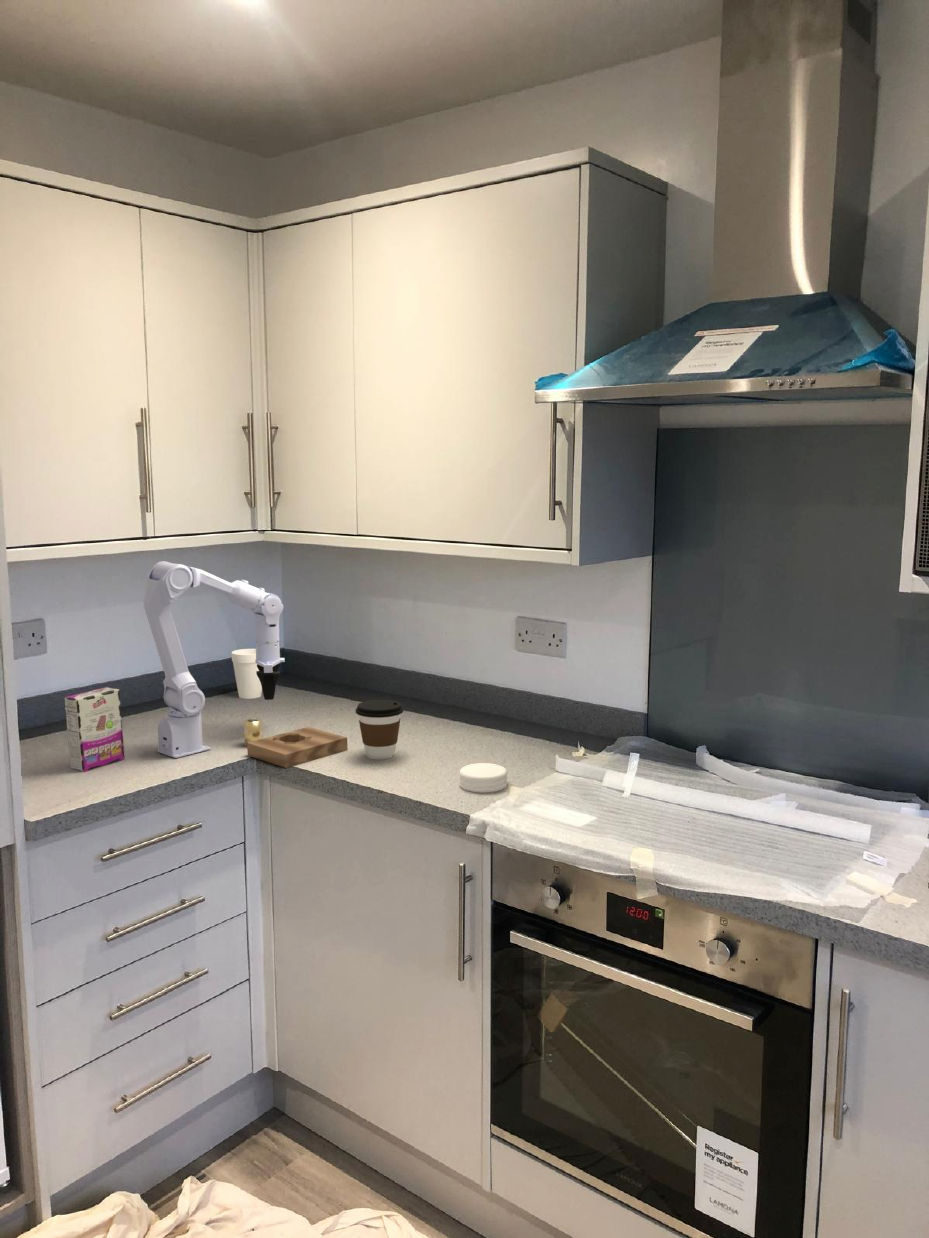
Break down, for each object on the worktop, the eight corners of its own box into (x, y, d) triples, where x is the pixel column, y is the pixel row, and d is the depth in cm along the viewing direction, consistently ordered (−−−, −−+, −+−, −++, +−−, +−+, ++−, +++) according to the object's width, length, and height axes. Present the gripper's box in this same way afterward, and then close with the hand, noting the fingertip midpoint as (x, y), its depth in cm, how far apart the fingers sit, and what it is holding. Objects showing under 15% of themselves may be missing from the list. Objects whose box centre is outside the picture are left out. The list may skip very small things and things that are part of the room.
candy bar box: (110, 755, 222) (106, 686, 220) (125, 759, 220) (121, 688, 217) (68, 768, 213) (63, 696, 210) (82, 772, 210) (77, 699, 208)
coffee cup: (401, 747, 229) (400, 697, 227) (406, 761, 218) (406, 709, 216) (354, 749, 227) (353, 699, 225) (357, 763, 216) (356, 711, 214)
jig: (285, 767, 213) (285, 754, 213) (247, 755, 223) (247, 742, 222) (347, 749, 227) (347, 737, 226) (308, 738, 236) (308, 726, 235)
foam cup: (273, 693, 282) (271, 649, 280) (255, 701, 273) (253, 655, 271) (245, 691, 285) (243, 647, 283) (226, 698, 277) (224, 653, 275)
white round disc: (497, 796, 196) (497, 779, 195) (451, 790, 199) (451, 773, 199) (514, 781, 205) (514, 765, 204) (470, 775, 208) (470, 760, 208)
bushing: (251, 748, 228) (250, 723, 227) (241, 745, 231) (240, 720, 230) (265, 744, 231) (264, 720, 230) (255, 741, 234) (254, 717, 233)
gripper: (284, 646, 230) (286, 701, 233) (283, 635, 245) (285, 688, 247) (254, 647, 229) (256, 703, 231) (255, 636, 243) (256, 689, 245)
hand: (269, 695), depth 239 cm, fingers open, 7 cm apart
